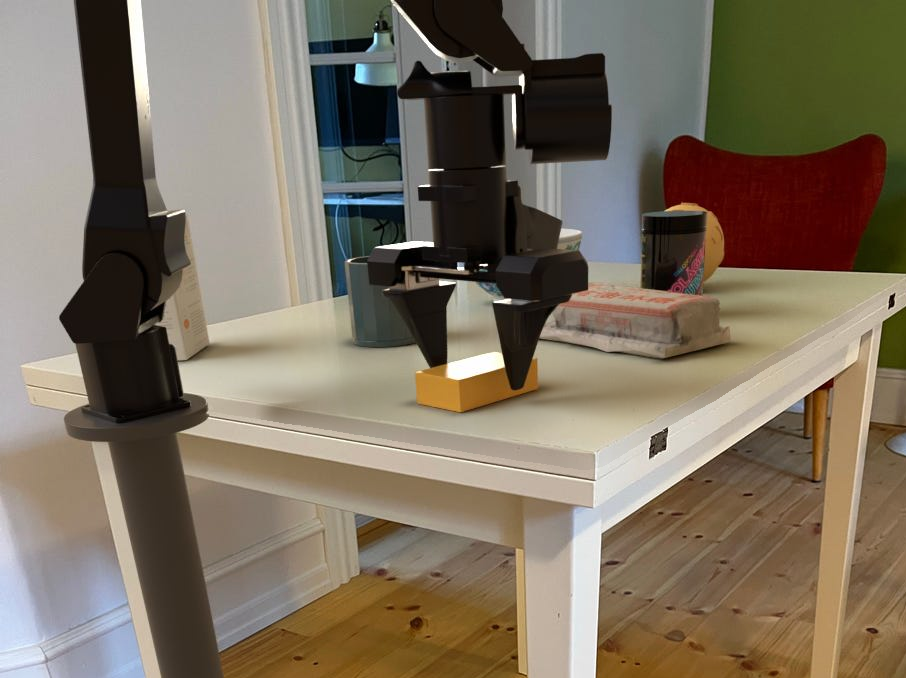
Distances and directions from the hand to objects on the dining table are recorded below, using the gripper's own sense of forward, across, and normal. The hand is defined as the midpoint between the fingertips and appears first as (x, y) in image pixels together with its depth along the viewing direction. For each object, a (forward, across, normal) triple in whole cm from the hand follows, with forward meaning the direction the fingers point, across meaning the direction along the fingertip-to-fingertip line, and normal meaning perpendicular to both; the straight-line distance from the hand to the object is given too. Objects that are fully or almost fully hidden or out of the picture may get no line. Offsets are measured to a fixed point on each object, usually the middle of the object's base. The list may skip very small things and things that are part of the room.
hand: (477, 382), depth 79 cm
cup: (+1, +25, -12) cm, 28 cm away
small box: (+1, +40, +5) cm, 40 cm away
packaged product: (+1, +3, -24) cm, 24 cm away
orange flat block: (+1, 0, 0) cm, 1 cm away
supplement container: (+1, +7, -37) cm, 38 cm away
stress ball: (+1, +17, -54) cm, 57 cm away
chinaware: (+1, +29, -37) cm, 47 cm away
